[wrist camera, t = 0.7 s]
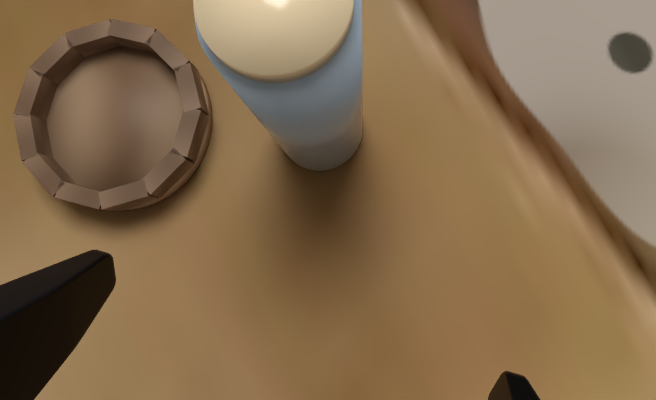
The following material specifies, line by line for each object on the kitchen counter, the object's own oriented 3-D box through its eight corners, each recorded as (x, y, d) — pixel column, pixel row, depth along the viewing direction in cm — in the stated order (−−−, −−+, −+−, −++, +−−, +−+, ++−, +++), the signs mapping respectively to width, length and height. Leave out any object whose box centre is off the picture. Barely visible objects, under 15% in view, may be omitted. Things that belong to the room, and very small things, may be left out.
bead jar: (290, 180, 24) (208, 103, 11) (269, 101, 24) (168, -56, 12) (372, 157, 23) (383, 52, 11) (349, 78, 24) (334, -109, 11)
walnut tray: (60, 231, 24) (33, 230, 22) (28, 67, 26) (0, 51, 24) (230, 182, 24) (218, 176, 22) (190, 17, 25) (175, -3, 23)
